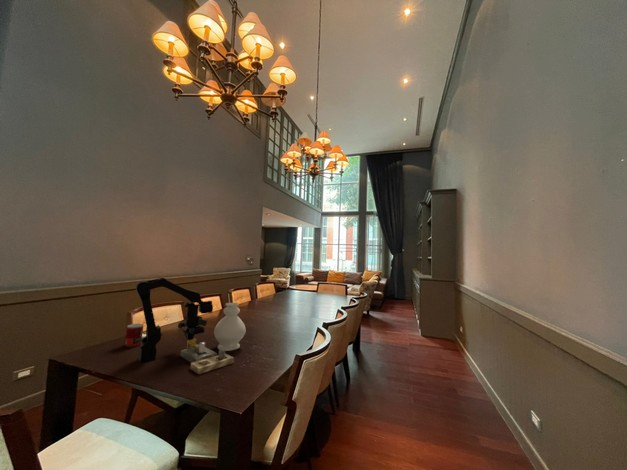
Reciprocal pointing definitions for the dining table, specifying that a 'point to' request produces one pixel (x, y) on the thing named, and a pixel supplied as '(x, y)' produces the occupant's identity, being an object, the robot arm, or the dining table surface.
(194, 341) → the key
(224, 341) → the decorative vase
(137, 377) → the dining table surface
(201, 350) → the grey rounded cylinder
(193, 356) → the socket
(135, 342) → the canned food
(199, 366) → the rack
